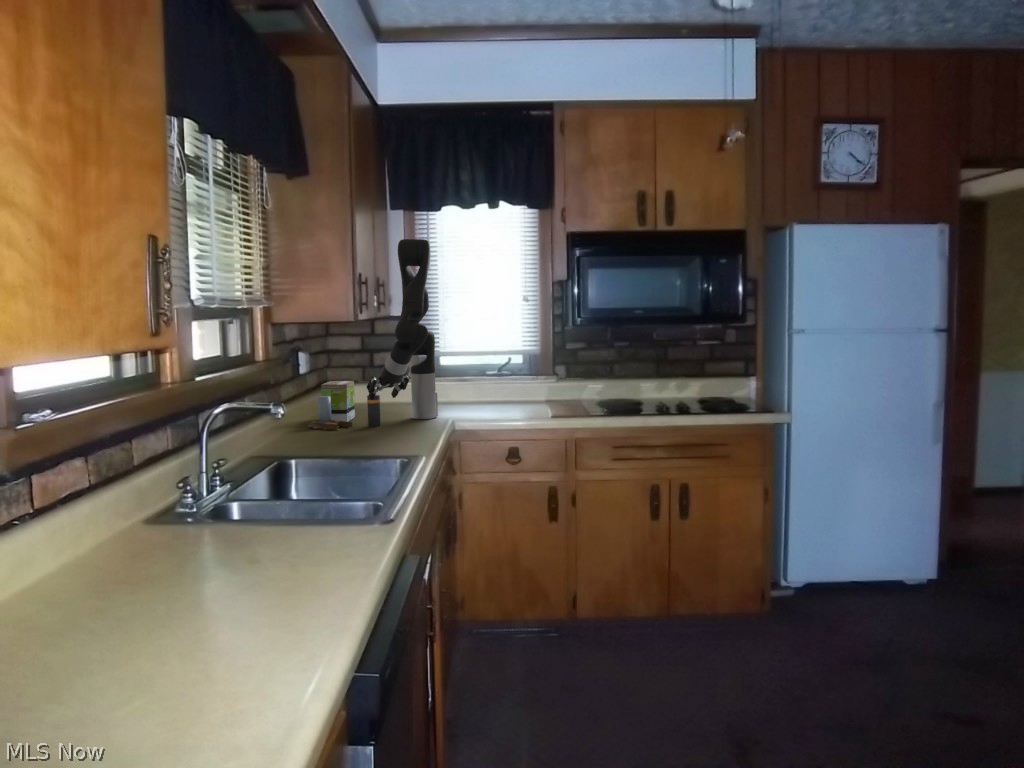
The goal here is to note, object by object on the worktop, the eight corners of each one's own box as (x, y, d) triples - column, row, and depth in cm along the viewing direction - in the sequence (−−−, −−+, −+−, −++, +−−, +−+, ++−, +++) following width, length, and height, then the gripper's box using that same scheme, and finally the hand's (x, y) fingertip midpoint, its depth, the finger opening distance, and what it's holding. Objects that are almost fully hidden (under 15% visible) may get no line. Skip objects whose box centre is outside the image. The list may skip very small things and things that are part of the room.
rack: (325, 424, 299) (325, 418, 299) (352, 427, 291) (352, 421, 291) (309, 427, 292) (308, 421, 292) (335, 430, 284) (335, 423, 284)
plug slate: (325, 425, 296) (324, 395, 295) (334, 426, 294) (333, 396, 293) (316, 427, 292) (315, 397, 291) (325, 428, 290) (323, 397, 289)
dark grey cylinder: (374, 424, 297) (373, 394, 296) (383, 425, 294) (382, 395, 293) (365, 426, 293) (364, 395, 292) (374, 427, 290) (373, 396, 289)
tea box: (348, 423, 302) (346, 383, 301) (321, 423, 302) (319, 384, 301) (355, 417, 317) (354, 379, 316) (330, 418, 317) (328, 380, 316)
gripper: (410, 357, 283) (396, 387, 293) (373, 359, 274) (359, 390, 285) (418, 373, 279) (403, 403, 289) (380, 375, 271) (367, 406, 281)
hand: (382, 397), depth 287 cm, fingers open, 8 cm apart
